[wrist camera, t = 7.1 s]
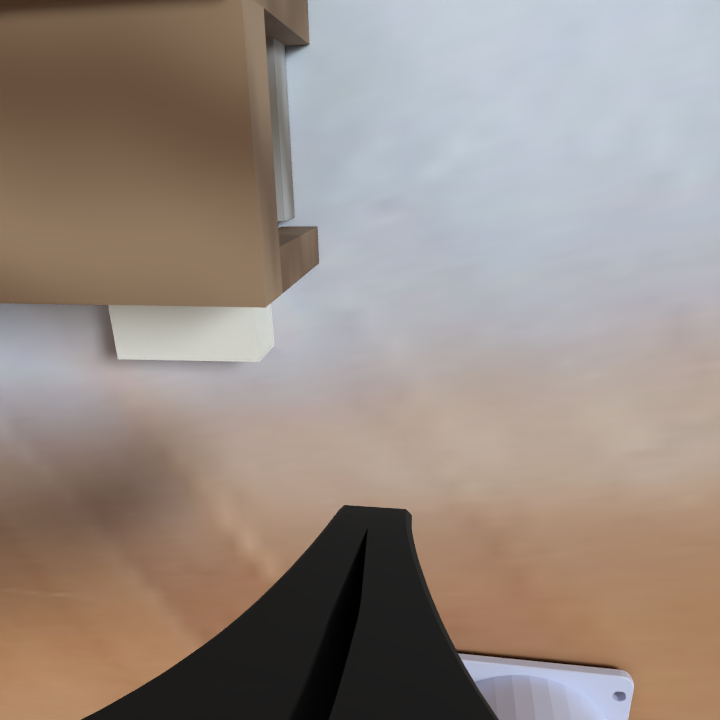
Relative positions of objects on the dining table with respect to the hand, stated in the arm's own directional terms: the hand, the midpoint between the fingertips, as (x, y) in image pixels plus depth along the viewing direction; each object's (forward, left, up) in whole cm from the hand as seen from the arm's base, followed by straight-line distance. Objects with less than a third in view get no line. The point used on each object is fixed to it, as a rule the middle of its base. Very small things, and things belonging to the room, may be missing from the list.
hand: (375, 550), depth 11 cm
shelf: (+8, +8, -9) cm, 15 cm away
